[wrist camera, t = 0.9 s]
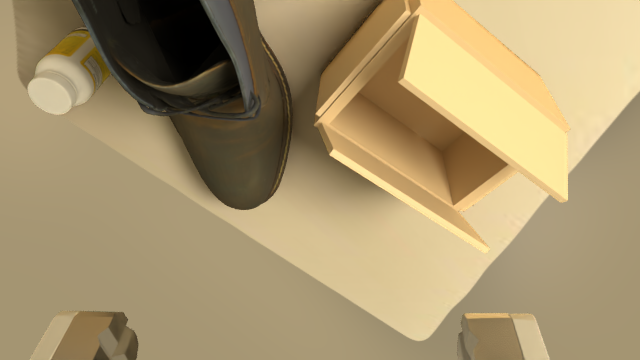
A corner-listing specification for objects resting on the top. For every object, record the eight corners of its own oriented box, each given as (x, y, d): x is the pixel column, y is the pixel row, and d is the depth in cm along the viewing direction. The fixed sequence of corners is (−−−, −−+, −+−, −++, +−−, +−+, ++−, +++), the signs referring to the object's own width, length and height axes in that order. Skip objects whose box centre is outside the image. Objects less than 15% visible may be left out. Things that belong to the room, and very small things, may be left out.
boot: (194, 188, 64) (141, 317, 49) (64, -206, 38) (-139, -192, 23) (308, 187, 63) (290, 320, 47) (255, -227, 36) (176, -228, 21)
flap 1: (419, 13, 36) (403, 77, 32) (567, 134, 42) (567, 200, 38) (414, 18, 37) (397, 82, 33) (561, 137, 43) (560, 202, 39)
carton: (406, -39, 44) (415, 0, 36) (542, 78, 50) (574, 132, 43) (317, 70, 51) (308, 122, 44) (444, 159, 58) (456, 218, 50)
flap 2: (321, 122, 43) (333, 148, 37) (459, 212, 49) (490, 248, 43) (317, 127, 43) (329, 154, 37) (455, 216, 49) (485, 253, 43)
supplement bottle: (61, 52, 52) (10, 98, 45) (79, 15, 49) (28, 58, 42) (107, 81, 54) (66, 130, 47) (127, 48, 51) (87, 94, 44)
